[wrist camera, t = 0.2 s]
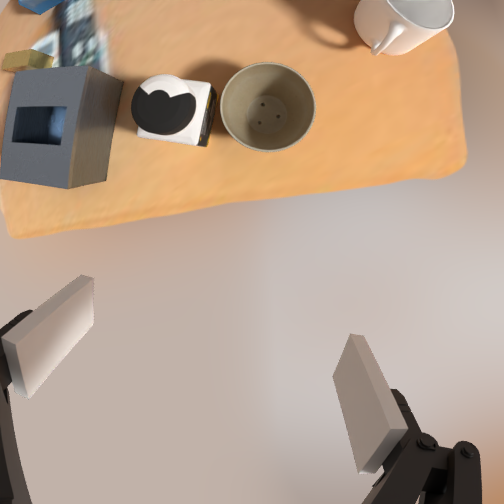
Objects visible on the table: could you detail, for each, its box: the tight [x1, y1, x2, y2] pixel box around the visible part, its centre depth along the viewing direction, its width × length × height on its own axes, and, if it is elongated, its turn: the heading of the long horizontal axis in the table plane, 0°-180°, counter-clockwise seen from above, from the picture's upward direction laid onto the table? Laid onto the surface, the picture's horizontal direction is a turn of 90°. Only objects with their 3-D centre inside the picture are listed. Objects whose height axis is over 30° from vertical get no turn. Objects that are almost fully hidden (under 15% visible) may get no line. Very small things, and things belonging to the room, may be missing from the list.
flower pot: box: [220, 62, 316, 152], centre depth 35 cm, size 10×10×7 cm
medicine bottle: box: [131, 74, 219, 147], centre depth 32 cm, size 7×7×12 cm
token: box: [2, 49, 54, 72], centre depth 33 cm, size 2×6×6 cm, turn 79°
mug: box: [354, 0, 454, 56], centre depth 28 cm, size 10×12×12 cm
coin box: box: [0, 66, 124, 189], centre depth 34 cm, size 14×12×10 cm
